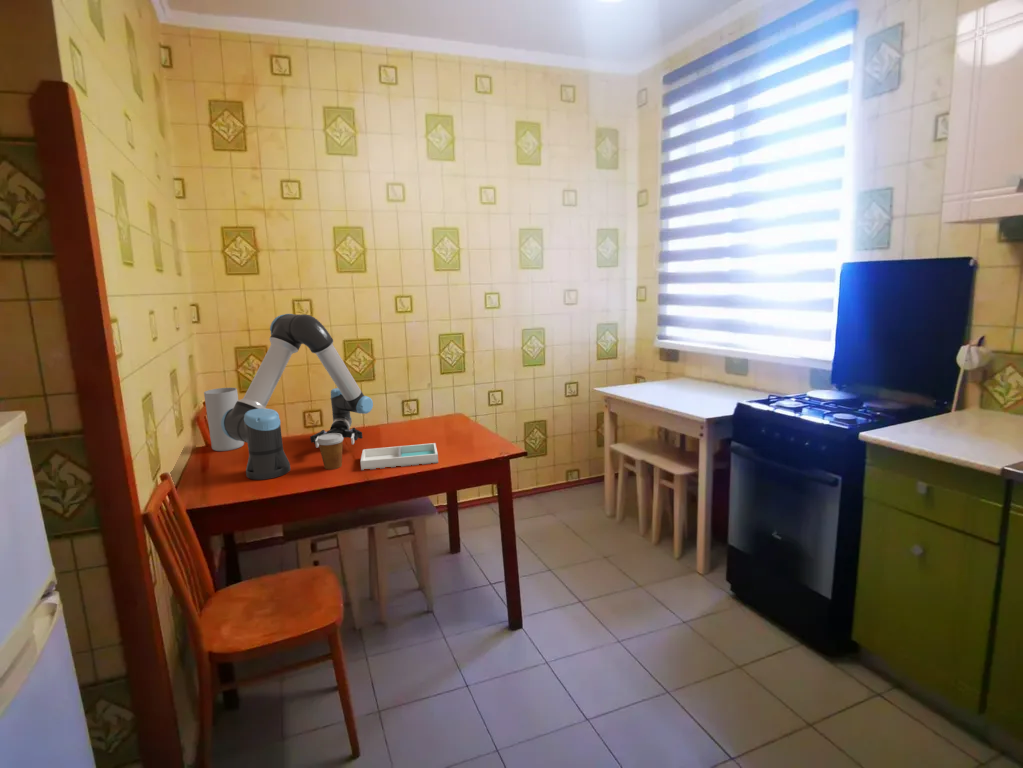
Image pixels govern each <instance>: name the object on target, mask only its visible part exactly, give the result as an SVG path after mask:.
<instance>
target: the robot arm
mask: <svg viewBox="0 0 1023 768" xmlns="http://www.w3.org/2000/svg"><path fill="white" fill-rule="evenodd" d="M269 330H270V337H269V342H270V345H269V347H268V349H267V352H266V353H265V356H264V357H263V360H261V363H260V365H259V368H258V369H257V372H256V373H255V376H254V377H253V379H252V380H251V383H250V385H249V386H248V389H247V390H246V392H245V394H244V396H243V398H241V399H238V401H237V402H236V404H235V406H234V408H232V409H230V410H228V411H227V412H226V413H225V414H224V415H223V417H222V420H221V427H222V430H223V432H224V433H225V434H226V435H227V436H228V437H230V438H232V439H234V440H239V441H243V442H244V443H247V448H248V458H247V459H248V460H247V464H246V469H245V474H246V475H245V476H246V477H247V478H248V479H250V480H257V481H258V480H260V481H261V480H269V479H275V478H278V477H281V476H284V475H285V474H288V473H289V472H291V464H290V461H289V458H288V456H287V454H286V453H285V451H284V446H283V445H284V444H283V438H282V437H283V435H282V427H281V419H280V414H279V413H278V411H277V410H275V409H271V408H266V407H267V405H268V403H269V401H270V400H271V397H272V395H273V393H274V391H275V389H276V387H277V385H278V384H279V381H280V379H281V377H282V376H283V373H284V372H285V368H286V367H287V365H288V363H289V361H290V359H291V357H292V355H293V354H295V353H298V352H299V350H300V348H301V347H302V345H304V346H306V347H307V348H308V349H309V350H310V352H311V354H315V355H316V357H317V358H318V359H319V361H320V362H321V364H322V366H323V367H324V369H325V371H326V372H327V374H328V375H329V376H330V378H331V380H332V381H333V383H334V385H335V386H336V388H332V389H331V390H330V402H331V403H330V404H331V412H332V414H331V415H332V423H331V426H330V427H329V430H327V431H326V430H324V429H322V430H321V431H319V432H317V433H315V434H313V435H311V436H310V438H309V439H310V443H312V444H314V445H315V448H319V444H318V442H317V440H318V437H319V436H321V435H324V434H329V433H339V434H342V437H343V438H344V439H346V438H349V439H350V441H351V445H354V444H355V441H358V439H363V432H362V431H360V430H359V429H357V428H356V427H352V428H351V426H352V421H353V420H352V417H351V413H356V414H368V413H370V412H371V411H372V410H373V408H374V402H373V399H372V398H371V397H369V396H367V395H364V392H363V391H362V390H361V388H360V387H359V385H358V383H357V382H356V380H355V378H354V377H353V375H352V374H351V372H350V370H349V369H348V367H347V365H346V364H345V362H344V360H343V359H342V357H341V356H340V354H339V353H338V351H337V349H336V347H335V346H334V339H333V337H332V336H331V335H330V332H329V331H328V330H327V329H326V327H325V325H324V324H322V322H320V321H319V320H318V319H317V318H316V317H314V316H312V315H310V314H303V313H302V314H293V313H284V314H280V315H278V316H277V317H275V318H274V319H273V320H272V322H271V323H270V327H269ZM350 428H351V429H350Z"/></svg>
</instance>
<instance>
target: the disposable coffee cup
mask: <svg viewBox="0 0 1023 768" xmlns="http://www.w3.org/2000/svg"><path fill="white" fill-rule="evenodd" d="M344 439H345V438H343V437H342V434H339V433H329V434H324V435H321V436H319V437H318V440H317V442H318V444H319V446H318V448H319V451H320V454H321V459H322V463H323V466H324V467H323V468H324V469H325V470H336V469H339V467H340V468H341V467H342V466H343V464H342V462H343V441H344Z"/></svg>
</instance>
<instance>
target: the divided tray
mask: <svg viewBox="0 0 1023 768" xmlns="http://www.w3.org/2000/svg"><path fill="white" fill-rule="evenodd" d="M438 453H439V452H438V449H437V443H436V442H433V443H422V444H421V443H420V444H411V445H410V444H409V445H408V444H407V445H397V446H388V447H375V448H366V449H365V448H364V449H362V453H361V456H360V462H359V463H360V471H365V470H364V469H370V470H377V469H376V468H380V469H386V468H385V467H391V468H397V467H396V466H401V467H409V466H410V467H411V465H412V466H420V465H419V464H422V465H430V464H431V463H433V464H438V463H439V454H438ZM431 465H432V464H431Z"/></svg>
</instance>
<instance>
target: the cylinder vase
mask: <svg viewBox="0 0 1023 768" xmlns="http://www.w3.org/2000/svg"><path fill="white" fill-rule="evenodd" d="M238 394H239V393H238V389H237V387H219V388H211V389H208V390H205V391H204V392H203V396H204V402H205V410H206V416H207V423H208V430H209V438H210V444H211V449H212V450H213V451H217V452H227V451H233V450H237V449H239V448H242V447H243V446H245V442H243V441H239V440H234V439H232V438H230V437H228V436H227V435H226V434H225V433H224V432H223V430H222V427H221V420H222V417H223V415H224V414H225V413H226V412H227V411H228V410H230V409H232V408H234V406H235V404H236V402H237V401H238V400H239V395H238Z"/></svg>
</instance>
